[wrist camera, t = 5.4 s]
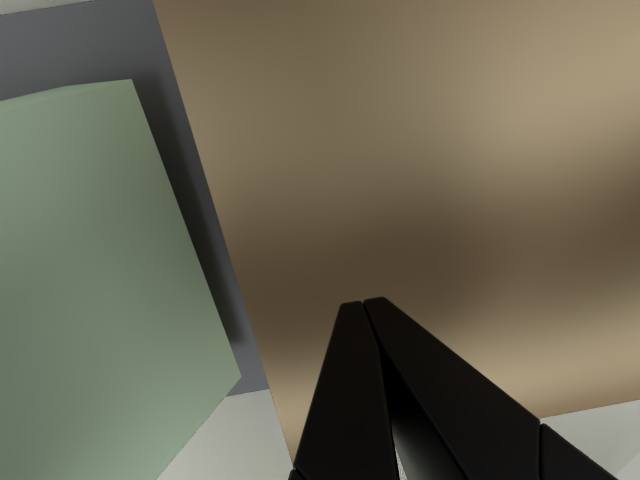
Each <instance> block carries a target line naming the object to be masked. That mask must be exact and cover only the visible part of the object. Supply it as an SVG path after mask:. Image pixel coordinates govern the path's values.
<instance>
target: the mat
mask: <svg viewBox="0 0 640 480" xmlns="http://www.w3.org/2000/svg"><path fill="white" fill-rule="evenodd" d="M126 79H132V81H133V84H134V87H135V90H136V92H137V95H138V98H139V100H140V103H141V106H142V109H143V111H144V114H145V117H146V119H147V122H148V125H149V127H150V130H151V133H152V136H153V138H154V141H155V144H156V146H157V149H158V152H159V154H160V157H161V160H162V163H163V165H164V168H165V171H166V173H167V176H168V179H169V181H170V184H171V187H172V190H173V192H174V195H175V198H176V200H177V203H178V206H179V208H180V211H181V214H182V217H183V219H184V222H185V225H186V227H187V230H188V233H189V236H190V238H191V241H192V244H193V246H194V249H195V252H196V254H197V257H198V260H199V263H200V265H201V268H202V271H203V273H204V276H205V279H206V281H207V284H208V287H209V290H210V292H211V295H212V298H213V300H214V303H215V306H216V308H217V311H218V314H219V317H220V319H221V322H222V325H223V327H224V330H225V333H226V336H227V338H228V341H229V344H230V346H231V349H232V352H233V354H234V357H235V360H236V363H237V365H238V368H239V371H240V373H241V376H242V377H241V378H240V379H239V381H238V382H237V383H236V384H235V385H234V387H233V388H232V389H231V390H230V391H229V393H228V394H227V395H226V396H232V395H237V394H243V393H248V392H254V391H259V390H265V389H270V388H269V384H268V381H267V378H266V374H265V371H264V368H263V365H262V361H261V358H260V355H259V351H258V348H257V345H256V341H255V338H254V335H253V331H252V328H251V325H250V322H249V318H248V315H247V312H246V308H245V305H244V302H243V298H242V295H241V292H240V289H239V285H238V282H237V279H236V275H235V272H234V269H233V265H232V262H231V259H230V255H229V252H228V249H227V246H226V242H225V239H224V236H223V232H222V229H221V226H220V222H219V219H218V216H217V212H216V209H215V206H214V203H213V199H212V196H211V193H210V189H209V186H208V183H207V179H206V176H205V173H204V169H203V166H202V163H201V160H200V156H199V153H198V150H197V146H196V143H195V140H194V136H193V133H192V130H191V126H190V123H189V120H188V117H187V113H186V110H185V107H184V103H183V100H182V97H181V93H180V90H179V87H178V83H177V80H176V77H175V74H174V70H173V67H172V64H171V60H170V57H169V54H168V50H167V47H166V44H165V40H164V37H163V34H162V31H161V27H160V24H159V21H158V17H157V14H156V11H155V7H154V4H153V1H152V0H95V1H89V2H82V3H76V4H69V5H63V6H57V7H50V8H44V9H37V10H31V11H24V12H18V13H12V14H5V15H0V101H3V100H7V99H11V98H16V97H20V96H24V95H29V94H33V93H37V92H41V91H46V90H50V89H54V88H59V87H63V86H70V85H79V84H88V83H98V82H107V81H116V80H126ZM226 396H225V397H226Z"/></svg>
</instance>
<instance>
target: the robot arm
mask: <svg viewBox="0 0 640 480" xmlns="http://www.w3.org/2000/svg"><path fill="white" fill-rule="evenodd" d="M395 447H396V450H397V452H398V455H399V458H400V461H401V463H402V466H403V469H404V471H405V474H406V477H407V480H618V479H617V478H615V477H614V476H613V475H611V474H610V473H609V472H607V471H606V470H605V469H603V468H602V467H601V466H599V465H598V464H597V463H596V462H594V461H593V460H592V459H590V458H589V457H588V456H586V455H585V454H584V453H582V452H581V451H580V450H578V449H577V448H576V447H574V446H573V445H572V444H570V443H569V442H568V441H567V440H565V439H564V438H563V437H562V436H560V435H559V434H558V433H557V432H555V431H554V430H553V429H551V428H550V427H549V426H548V425H546V424H544V423H543V424H541V425H540V420H539V418H537V417H536V416H535V415H533V414H532V413H531V412H530V411H528V410H527V409H526V408H525V407H523V406H522V405H521V404H520V403H518V402H517V401H516V400H515V399H513V398H512V397H511V396H509V395H508V394H507V393H506V392H504V391H503V390H502V389H501V388H499V387H498V386H497V385H496V384H494V383H493V382H492V381H490V380H489V379H488V378H487V377H485V376H484V375H483V374H482V373H480V372H479V371H478V370H477V369H475V368H474V367H473V366H472V365H470V364H469V363H468V362H466V361H465V360H464V359H463V358H461V357H460V356H459V355H458V354H456V353H455V352H454V351H453V350H451V349H450V348H449V347H448V346H446V345H445V344H444V343H442V342H441V341H440V340H439V339H437V338H436V337H435V336H434V335H432V334H431V333H430V332H429V331H427V330H426V329H425V328H424V327H422V326H421V325H420V324H418V323H417V322H416V321H415V320H413V319H412V318H411V317H410V316H408V315H407V314H406V313H405V312H403V311H402V310H401V309H400V308H398V307H397V306H396V305H394V304H393V303H392V302H391V301H389V300H388V299H387V298H385V297H375V298H369V299H365V300H364V301H363V303H362V302H361V301H359V300H358V301H352V302H346V303H342V304H341V305H340V306H339V310H338V313H337V316H336V320H335V323H334V326H333V330H332V333H331V337H330V340H329V343H328V347H327V350H326V354H325V357H324V360H323V364H322V367H321V371H320V374H319V377H318V381H317V384H316V387H315V391H314V394H313V398H312V401H311V404H310V408H309V411H308V415H307V418H306V421H305V425H304V428H303V432H302V435H301V438H300V442H299V445H298V448H297V452H296V455H295V459H294V462H293V470H291V472H290V475H289V478H288V480H400V477H399V470H398V464H397V457H396V451H395Z"/></svg>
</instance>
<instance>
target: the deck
mask: <svg viewBox="0 0 640 480" xmlns="http://www.w3.org/2000/svg"><path fill="white" fill-rule="evenodd" d="M152 1H153V4H154V7H155V11H156V14H157V17H158V21H159V24H160V27H161V31H162V34H163V37H164V40H165V44H166V47H167V50H168V54H169V57H170V60H171V64H172V67H173V70H174V74H175V77H176V80H177V83H178V87H179V90H180V93H181V97H182V100H183V103H184V107H185V110H186V113H187V117H188V120H189V123H190V126H191V130H192V133H193V136H194V140H195V143H196V146H197V150H198V153H199V156H200V160H201V163H202V166H203V169H204V173H205V176H206V179H207V183H208V186H209V189H210V193H211V196H212V199H213V203H214V206H215V209H216V212H217V216H218V219H219V222H220V226H221V229H222V232H223V236H224V239H225V242H226V246H227V249H228V252H229V255H230V259H231V262H232V265H233V269H234V272H235V275H236V279H237V282H238V285H239V289H240V292H241V295H242V298H243V302H244V305H245V308H246V312H247V315H248V318H249V322H250V325H251V328H252V331H253V335H254V338H255V341H256V345H257V348H258V351H259V355H260V358H261V361H262V365H263V368H264V371H265V374H266V378H267V381H268V384H269V388H270V391H271V394H272V398H273V401H274V404H275V408H276V411H277V414H278V417H279V421H280V424H281V427H282V431H283V434H284V437H285V441H286V444H287V447H288V451H289V454H290V457H291V460H292V464H293V462H294V459H295V455H296V452H297V448H298V445H299V442H300V438H301V435H302V432H303V428H304V425H305V421H306V418H307V415H308V411H309V408H310V404H311V401H312V398H313V394H314V391H315V387H316V384H317V381H318V377H319V374H320V371H321V367H322V364H323V360H324V357H325V354H326V350H327V347H328V343H329V340H330V337H331V333H332V330H333V326H334V323H335V320H336V316H337V313H338V310H339V306H340V305H341V304H342V303H346V302H352V301H358V300H359V301H361V302H362V303H363V301H364V300H365V299H369V298H375V297H385V298H387V299H388V300H389V301H391V302H392V303H393V304H394V305H396V306H397V307H398V308H400V309H401V310H402V311H403V312H405V313H406V314H407V315H408V316H410V317H411V318H412V319H413V320H415V321H416V322H417V323H418V324H420V325H421V326H422V327H424V328H425V329H426V330H427V331H429V332H430V333H431V334H432V335H434V336H435V337H436V338H437V339H439V340H440V341H441V342H442V343H444V344H445V345H446V346H448V347H449V348H450V349H451V350H453V351H454V352H455V353H456V354H458V355H459V356H460V357H461V358H463V359H464V360H465V361H466V362H468V363H469V364H470V365H472V366H473V367H474V368H475V369H477V370H478V371H479V372H480V373H482V374H483V375H484V376H485V377H487V378H488V379H489V380H490V381H492V382H493V383H494V384H496V385H497V386H498V387H499V388H501V389H502V390H503V391H504V392H506V393H507V394H508V395H509V396H511V397H512V398H513V399H515V400H516V401H517V402H518V403H520V404H521V405H522V406H523V407H525V408H526V409H527V410H528V411H530V412H531V413H532V414H533V415H535V416H536V417H537V418H544V417H549V416H555V415H560V414H565V413H571V412H576V411H581V410H587V409H592V408H597V407H603V406H608V405H613V404H619V403H624V402H629V401H634V400H640V0H152Z"/></svg>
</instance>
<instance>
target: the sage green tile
mask: <svg viewBox="0 0 640 480" xmlns="http://www.w3.org/2000/svg"><path fill="white" fill-rule="evenodd" d="M241 377H242V376H241V373H240V371H239V368H238V365H237V363H236V360H235V357H234V354H233V352H232V349H231V346H230V344H229V341H228V338H227V336H226V333H225V330H224V327H223V325H222V322H221V319H220V317H219V314H218V311H217V308H216V306H215V303H214V300H213V298H212V295H211V292H210V290H209V287H208V284H207V281H206V279H205V276H204V273H203V271H202V268H201V265H200V263H199V260H198V257H197V254H196V252H195V249H194V246H193V244H192V241H191V238H190V236H189V233H188V230H187V227H186V225H185V222H184V219H183V217H182V214H181V211H180V208H179V206H178V203H177V200H176V198H175V195H174V192H173V190H172V187H171V184H170V181H169V179H168V176H167V173H166V171H165V168H164V165H163V163H162V160H161V157H160V154H159V152H158V149H157V146H156V144H155V141H154V138H153V136H152V133H151V130H150V127H149V125H148V122H147V119H146V117H145V114H144V111H143V109H142V106H141V103H140V100H139V98H138V95H137V92H136V90H135V87H134V84H133V81H132V79H126V80H116V81H107V82H98V83H88V84H79V85H70V86H63V87H59V88H54V89H50V90H46V91H41V92H37V93H33V94H29V95H24V96H20V97H16V98H11V99H7V100H3V101H0V480H156V479H157V478H158V477H159V476H160V474H161V473H162V472H163V471H164V470H165V468H166V467H167V466H168V465H169V464H170V462H171V461H172V460H173V459H174V458H175V456H176V455H177V454H178V453H179V452H180V450H181V449H182V448H183V447H184V446H185V444H186V443H187V442H188V441H189V439H190V438H191V437H192V436H193V435H194V433H195V432H196V431H197V430H198V429H199V427H200V426H201V425H202V424H203V423H204V421H205V420H206V419H207V418H208V417H209V415H210V414H211V413H212V412H213V411H214V409H215V408H216V407H217V406H218V405H219V403H220V402H221V401H222V400H223V399H224V397H225V396H226V395H227V394H228V393H229V391H230V390H231V389H232V388H233V387H234V385H235V384H236V383H237V382H238V381H239V379H240V378H241Z"/></svg>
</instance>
